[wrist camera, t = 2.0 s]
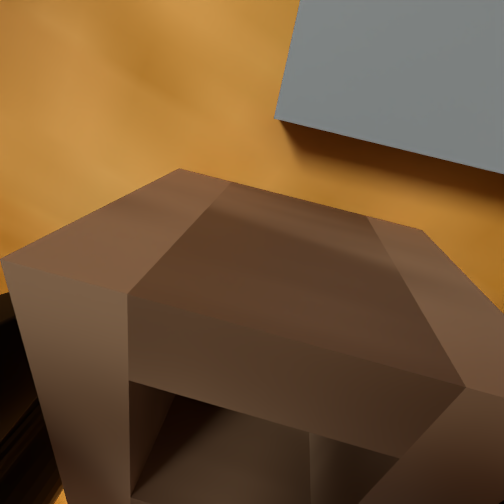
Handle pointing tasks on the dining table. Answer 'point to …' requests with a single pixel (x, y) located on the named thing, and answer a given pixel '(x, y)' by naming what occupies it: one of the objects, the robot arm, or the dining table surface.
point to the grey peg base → (401, 75)
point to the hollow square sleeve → (258, 354)
